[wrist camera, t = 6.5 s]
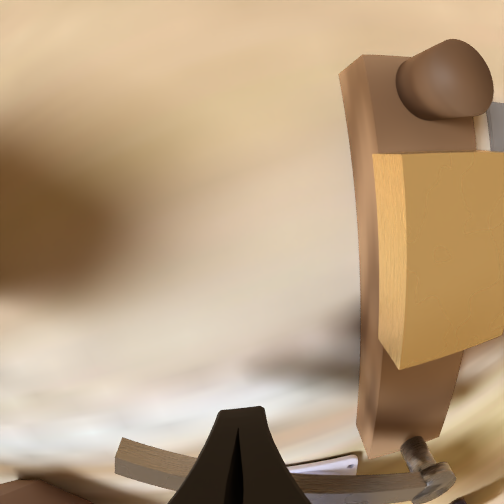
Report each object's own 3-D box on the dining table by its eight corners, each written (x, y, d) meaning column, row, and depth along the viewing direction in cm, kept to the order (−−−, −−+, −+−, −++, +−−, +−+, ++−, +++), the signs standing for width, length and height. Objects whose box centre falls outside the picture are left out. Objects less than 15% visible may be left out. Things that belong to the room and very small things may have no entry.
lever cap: (474, 312, 12) (502, 334, 10) (378, 338, 12) (399, 370, 10) (480, 150, 10) (517, 153, 8) (371, 153, 10) (401, 154, 8)
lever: (438, 429, 13) (464, 473, 10) (415, 457, 14) (436, 500, 10) (140, 385, 12) (115, 448, 8) (135, 421, 12) (114, 480, 9)
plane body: (420, 406, 17) (456, 466, 12) (356, 424, 17) (381, 494, 12) (426, 76, 12) (504, 51, 6) (338, 74, 12) (394, 29, 6)
